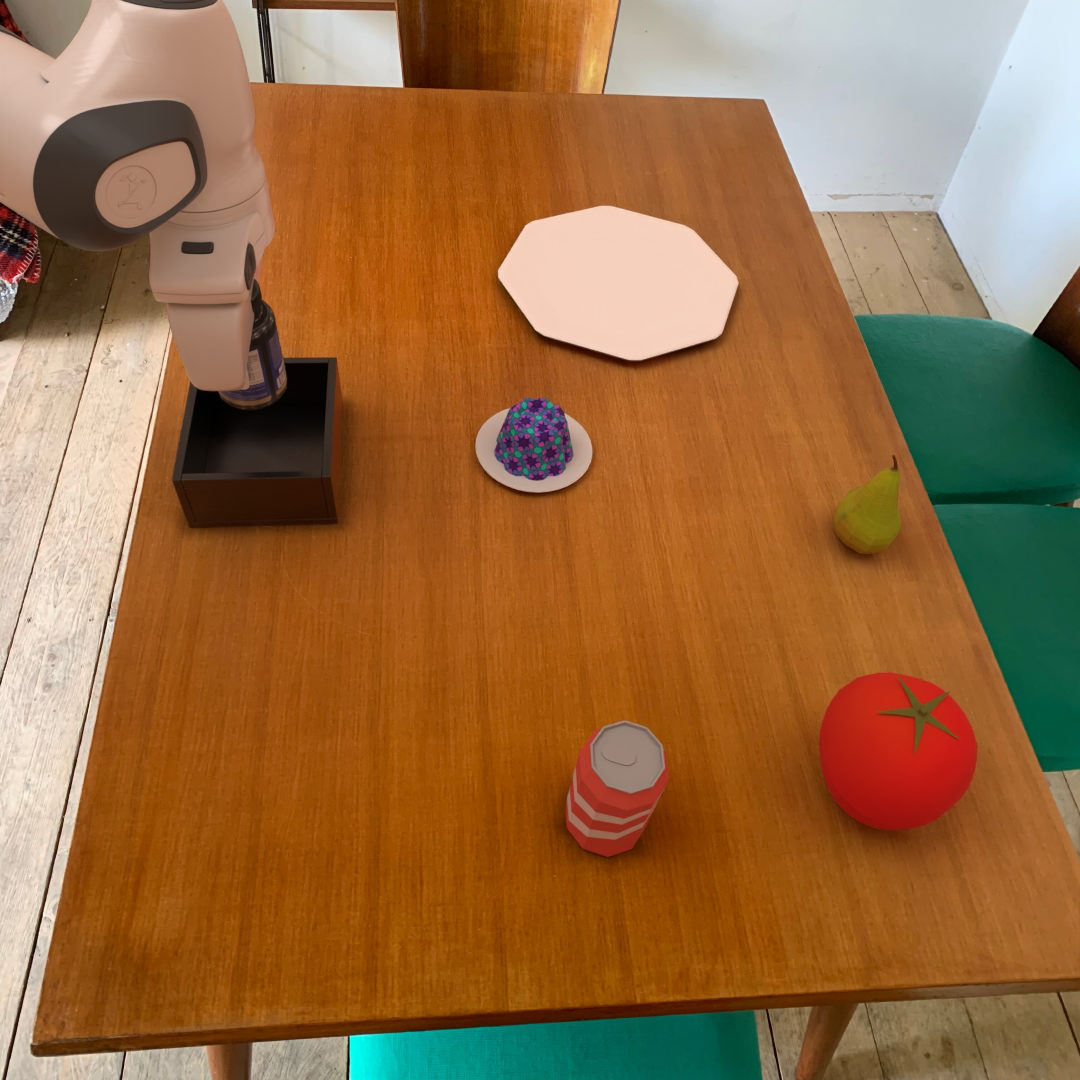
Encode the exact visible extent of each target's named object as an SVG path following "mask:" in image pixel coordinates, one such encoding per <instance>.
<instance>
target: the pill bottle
mask: <svg viewBox="0 0 1080 1080" xmlns="http://www.w3.org/2000/svg"><path fill="white" fill-rule="evenodd" d="M251 305H252V310H253V312H254V322H253V329H252V335H251V342H250V349H249V356H248V364H249V370H250V373H251V377H250V384H249V388H248V389H246V390H236V391H218V393H219V395H220V397H221V398H222V399H223V400H224V401H225V402H226V403H227V404H229V405H230V406H232V407H235V408H238V409H242V410H258V409H262V408H265V407H268V406H270V405H271V404H273V403H275V402H276V401H277V400H279V399H280V398H281V396H282V395H283V394H284V392H285V390H286V387H287V377H286V371H285V366H284V361H283V358H284V357H283V351H282V347H281V346H282V345H281V342H280V336H279V331H278V326H277V321H276V316H275V312H274V310H273V309H272V307H271V305H270V304H268V303H267V302H266V301H265V300H263V295H262V291H261V287H260V283H259V284H258V282H257V281H256V280H255V279H254V282H253V289H252V296H251Z"/></svg>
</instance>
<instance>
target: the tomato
mask: <svg viewBox="0 0 1080 1080" xmlns="http://www.w3.org/2000/svg"><path fill="white" fill-rule="evenodd" d="M950 692H951V691H947V692H946V691H945V690H944V689H943V688H941V687H940V686H938V685H936V684H934V683H933V682H930V681H928V680H925V679H922V678H919V677H915V676H911V675H906V674H903V673H897V672H889V671H886V672H875V673H870V674H865V675H861V676H857V677H856V678H854V679H853V680H852V681H850V682H849V683H847V684H846V685H845V686H843V687H841V688H839V690H838V691H837V692H836V693H835V695H834V696H833V698H832V699H831V701H830V702H829V704H828V706H827V708H826V709H825V712H824V714H823V718H822V721H821V724H820V725H821V726H820V730H819V740H818V748H819V749H818V750H819V760H820V761H819V762H820V769H821V773H822V776H823V779H824V782H825V785H826V788H827V789H828V791H829V793H830V795H831V797H832V798H833V799H834V801H835V802H836V803H837V805H838V806H839V807H840V808H841V810H843V811H844V812H845V813H846V814H847V815H848V816H849V817H851V818H853V819H854V820H855V821H857V822H858V823H860V824H862V825H865V826H868V827H870V828H873V829H878V830H882V831H883V830H884V831H885V830H886V831H905V830H906V831H907V830H910V829H911V830H912V829H915V828H920V827H924V826H926V825H929V824H931V823H933V822H936V821H937V820H938V819H939V818H941V817H942V816H944V815H945V814H946V813H947V812H948V811H950V810H951V809H952V808H953V807H954V806H955V805H956V804H957V803H958V802H959V801H960V800H961V799H962V798H963V797H964V795H965V794H966V792H967V791H968V790H969V788H970V786H971V783H972V782H973V778H974V775H975V771H976V768H977V763H978V742H977V739H976V736H975V732H974V729H973V726H972V725H971V722H970V720H969V719H968V717H967V715H966V714H965V712H964V711H963V709H962V708H961V706H960V705H959V704H958V702H956V700H955V699H954V698H953V697H952V696H951V695H950V694H949V693H950Z"/></svg>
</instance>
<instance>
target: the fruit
mask: <svg viewBox="0 0 1080 1080" xmlns="http://www.w3.org/2000/svg"><path fill="white" fill-rule="evenodd" d="M891 458H892V460H893V466H890V467H887V468H885V469H882V470H881V471H879V472H878V473H876V474H875V475H874V476H873V477H871V478H870V480H869V481H868V482H866V483H865V484H863V485H862V486H857V487H854V488H852V489H851V490H849V491H848V492H847V493H846V495H844V497H843V498H842V499H841V500H840V501H839V502H838V503H837V506H835V509H834V512H833V525H832V526H833V533H834V534H835V535H836V537H837V538H838V539H839V540H840V541H841V542H842V543H843V544H844V546H846V547H848V548H849V549H851V550H853V551H854V552H856V553H858V554H860V555H863V554H864V555H865V554H877V553H882V552H885V551H886V549H887V548H888V547H889V546H890V545H891V543H892V542H894V540H895V539H896V538H897V536H899V535H900V533H901V529H902V520H901V511H900V509H899V507H898V498H899V497H898V496H899V488H900V482H901V481H900V479H901V472H900V469H899V465H898V460H897V457H896V455H895V454H892V455H891Z"/></svg>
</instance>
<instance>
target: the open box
mask: <svg viewBox="0 0 1080 1080" xmlns="http://www.w3.org/2000/svg"><path fill="white" fill-rule="evenodd" d="M283 361H284V366H285V371H286V377H287V387H286V390H285V392H284V394H283V395H282V396H281V398H280V399H279V400H277V401H276V402H275V403H273V404H271V405H270V406H268V407H265V408H262V409H258V410H242V409H238V408H235V407H232V406H230V405H229V404H227V403H226V402H225V401H224V400H223V399H222V398H221V397H220V395H219V393H218V391H204V390H200V389H198V388H197V387H195V386H194V385H193V384H192V383H191V381H190V380H189V386H188V391H187V396H186V402H185V408H184V412H183V417H182V423H181V428H180V435H179V439H178V444H177V449H176V455H175V461H174V467H173V471H172V477H171V482H172V485H173V487H174V490H175V493H176V496H177V498H178V501H179V504H180V506H181V509H182V511H183V515H184V517H185V519H186V522H187V525H188V527H189V529H190V528H191V529H192V528H221V527H222V528H224V527H261V526H263V527H264V526H294V525H295V526H296V525H330V524H339V512H340V511H339V510H340V488H341V467H342V466H341V464H342V443H343V441H342V440H343V419H344V402H343V394H342V386H341V378H340V372H339V370H340V369H339V364H338V358H337V356H335V357H333V356H332V357H331V356H330V357H328V356H327V357H325V356H323V357H321V356H316V357H315V356H314V357H312V356H311V357H308V356H307V357H306V356H305V357H304V356H303V357H301V356H300V357H283Z"/></svg>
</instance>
